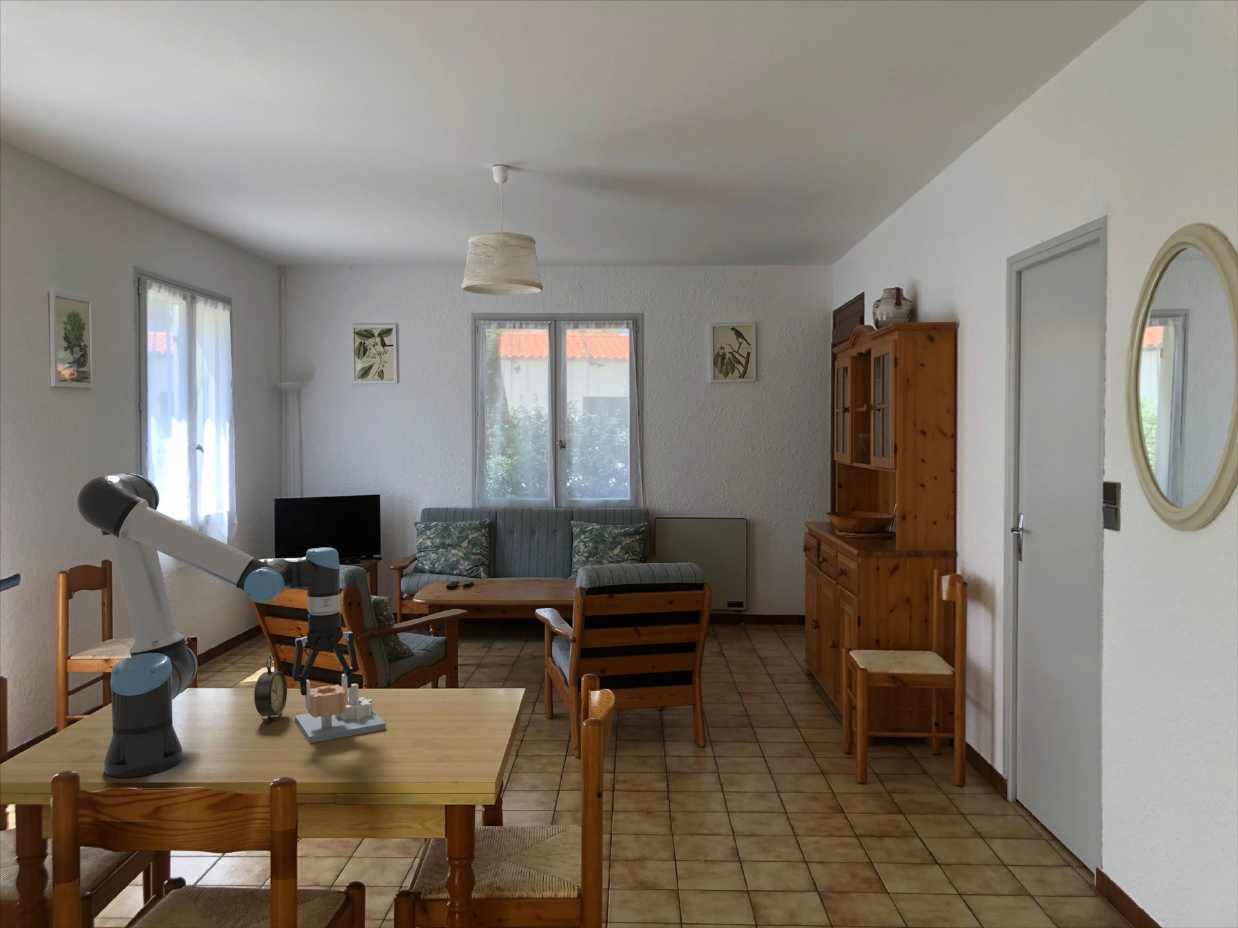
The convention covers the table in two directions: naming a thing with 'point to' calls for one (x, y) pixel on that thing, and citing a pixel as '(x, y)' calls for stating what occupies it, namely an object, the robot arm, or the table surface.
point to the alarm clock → (270, 693)
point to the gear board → (342, 720)
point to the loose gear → (327, 701)
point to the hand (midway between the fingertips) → (326, 704)
